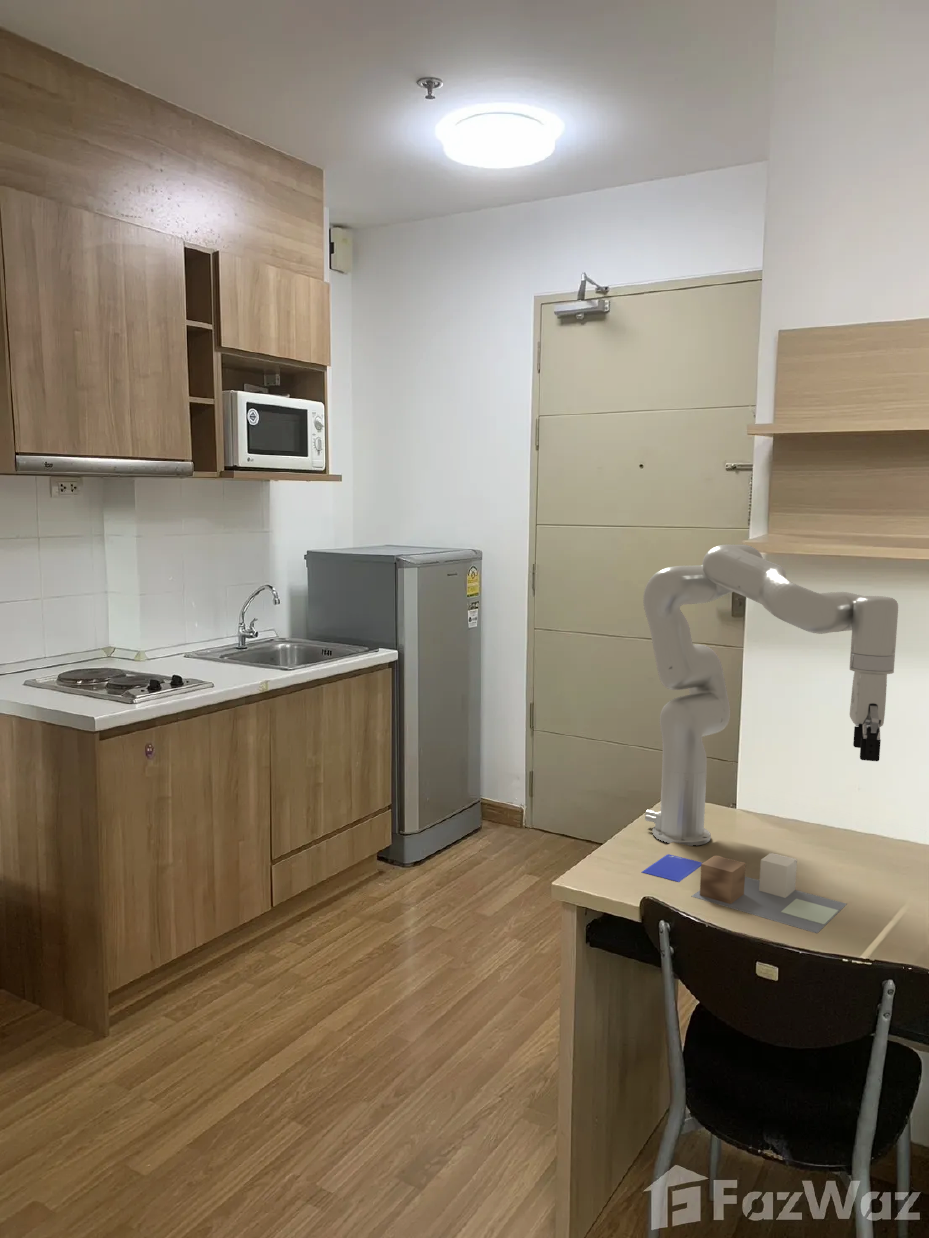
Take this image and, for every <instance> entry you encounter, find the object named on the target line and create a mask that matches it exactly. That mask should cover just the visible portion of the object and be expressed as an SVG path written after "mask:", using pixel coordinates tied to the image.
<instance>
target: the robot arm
mask: <svg viewBox="0 0 929 1238" xmlns="http://www.w3.org/2000/svg"><path fill="white" fill-rule="evenodd" d="M732 593H735V594H738V595H741V596H743V597H744V598H746V599H747V598H748V599H749V600H752V601H754V602H756V603H759V604H761V605H762V606H763V608H764V609H765V610H766V611H768V612H769V613H770V614H771V615H772V616H773V617H776V618H777V619H779V620H781V621H782V622H784V623H787V624H789V625H792V626H794V627H796V628H798V629H800V630H803V631H806V632H808V633H812V634H816V635H817V634H818V635H820V634H821V635H822V634H828V633H829V634H831V633H839V632H849V631H851V639H850V657H849V670H850V671H852V672H853V679H852V687H851V697H850V704H849V705H850V707H849V717H850V719H851V721H852V723H853V724H854V725H855V726H854V727H853V728H854V730H853V742H852V746H853V747H854V748H858V749H860V751H859V759H860V760H861V761H869V762H879V761H880V757H881V756H880V755H881V754H880V753H881V741H882V739H881V728H882V727H883V726H884V721H885V715H886V714H885V713H886V701H887V683H888V675H891V674H894V673H895V659H896V645H897V635H898V633H897V632H898V631H897V630H898V617H899V603H898V602H897V600H896V599H895V598H893V597H889V596H880V595H860V594H857V593H853V592H847V591H837V592H833V591H832V592H821V593H819V592H817V591H813V590H811V589H808V588H805V587H803V586H801V585H799V584H796V583H794V582H792V581H791V580H789V579H787V573H786V569H785V568H784V567H783V566H782V565H780V564H778V563H775V562H772V561H770V560H767V559H765V558H764V556H763V555H762V554H761V552H760V551H759V550H758V549H757V548H756V547H753V546H751V545H748V544H721V545H720V544H719V545H717V546H714V547H712V548H711V549H709V550H707V552H706V553H705V554H704V557H703V559H702V564H701V565H675V566H669V567H665V568H662V569H661V570H658V571H657V572H655V573H653V575H652V576H651V577H650V578H649V580H648V582H647V583H646V585H645V588H644V591H643V598H642V599H643V609H644V613H645V617H646V620H647V623H648V627H649V631H650V637H651V643H652V648H653V653H654V658H655V663H656V669H657V674H658V678H659V681H660V682H661V684H662V686H663V687H665V688H666V689H667V690H671V691H682V690H683V691H684V690H687V689H688V693H689V694H687V695H682V696H677V697H674V698H672V699H670V700H669V701H668V702H666V704H664V705H663V707H662V709H661V711H660V714H659V727H660V734H661V740H662V760H661V761H662V763H661V764H662V765H661V766H662V767H661V784H660V785H661V789H660V790H661V791H660V811H655V810H652V809H647V810H646V811H645V813H644V815H645V818H644V820H645V821H647V822H652V823H653V824H655V825H654V826H653V828H652V832H651V833H653V834H652V836H653V835H654V836H655V837H656V838H655V837H654V836H653V837H654V838H655V839H657V840H658V839H659V840H658V841H660V840H661V841H660V842H663V841H664V842H663V843H666V842H667V844H672V843H677V844H680V845H681V844H682V845H684V846H685V845H686V846H689V847H693V845H696V846H701V845H705V844H707V843H709V842H710V841H711V837H712V836H711V832H710V831H709V830H708V829H707V828H705V813H706V812H705V810H706V794H707V793H706V791H707V788H706V787H707V768H708V767H707V766H708V765H707V764H708V757H707V752H706V749H705V745H704V742H703V737H706V736H709V735H715V734H717V733H720V732H722V731H723V730H725V728H726V727H727V726H728V725H729V723H730V718H731V708H730V699H729V694H728V689H727V684H726V679H725V674H724V669H723V665H722V662H721V659H720V657H719V656H718V654H717V653H716V652H715V651H714V649H713V648H711V647H709V646H708V645H704V644H698V643H697V644H696V643H695V644H694V642H693V639H692V635H691V634H692V633H691V628H690V625H689V622H688V619H687V618H686V616H685V614H683V612H682V610H681V606H683V605H697V604H699V605H700V604H706V603H710V602H713V601H716V600H719V599H721V598H723V597H724V596H727V595H729V594H732Z"/></svg>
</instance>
